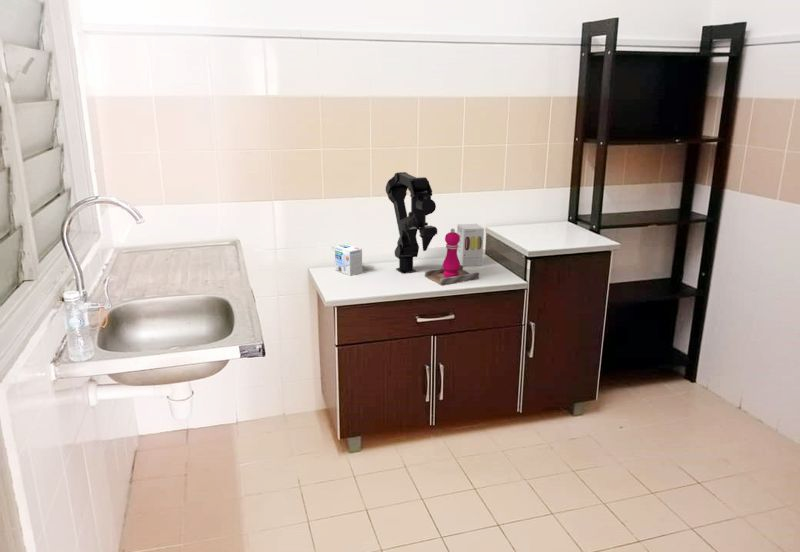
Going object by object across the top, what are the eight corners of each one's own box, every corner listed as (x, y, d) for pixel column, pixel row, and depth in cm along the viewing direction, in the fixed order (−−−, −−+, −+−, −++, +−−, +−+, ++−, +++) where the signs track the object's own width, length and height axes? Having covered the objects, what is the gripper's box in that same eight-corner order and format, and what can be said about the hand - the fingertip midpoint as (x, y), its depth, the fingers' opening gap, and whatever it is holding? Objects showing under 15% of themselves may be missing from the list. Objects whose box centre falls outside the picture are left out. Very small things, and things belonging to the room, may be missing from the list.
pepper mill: (459, 273, 258) (461, 226, 252) (460, 279, 251) (462, 231, 245) (442, 273, 259) (443, 226, 253) (442, 278, 252) (443, 230, 246)
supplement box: (462, 266, 270) (463, 229, 265) (455, 261, 278) (456, 224, 273) (482, 265, 272) (484, 227, 267) (475, 259, 280) (476, 223, 275)
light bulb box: (334, 270, 264) (334, 245, 261) (347, 267, 268) (347, 243, 265) (350, 276, 257) (349, 251, 253) (363, 273, 261) (362, 248, 257)
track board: (441, 285, 246) (441, 279, 245) (424, 276, 257) (424, 270, 256) (478, 278, 254) (479, 273, 253) (461, 270, 265) (461, 265, 264)
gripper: (388, 208, 248) (389, 246, 252) (413, 215, 232) (413, 256, 237) (412, 205, 253) (412, 243, 258) (438, 212, 238) (437, 252, 242)
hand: (418, 248), depth 248 cm, fingers open, 9 cm apart
